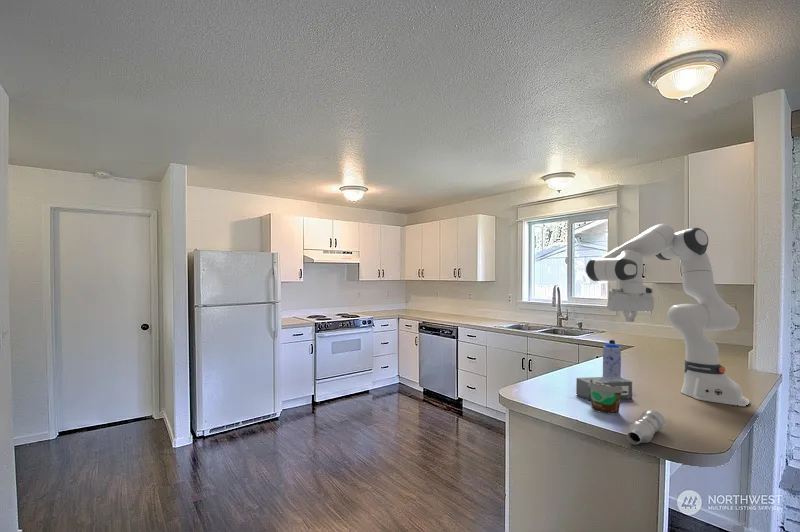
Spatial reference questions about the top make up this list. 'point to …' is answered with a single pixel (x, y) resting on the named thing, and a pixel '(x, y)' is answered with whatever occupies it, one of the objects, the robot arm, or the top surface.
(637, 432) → the plastic bottle
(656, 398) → the top surface
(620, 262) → the robot arm
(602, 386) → the food container
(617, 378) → the box
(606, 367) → the aerosol can
